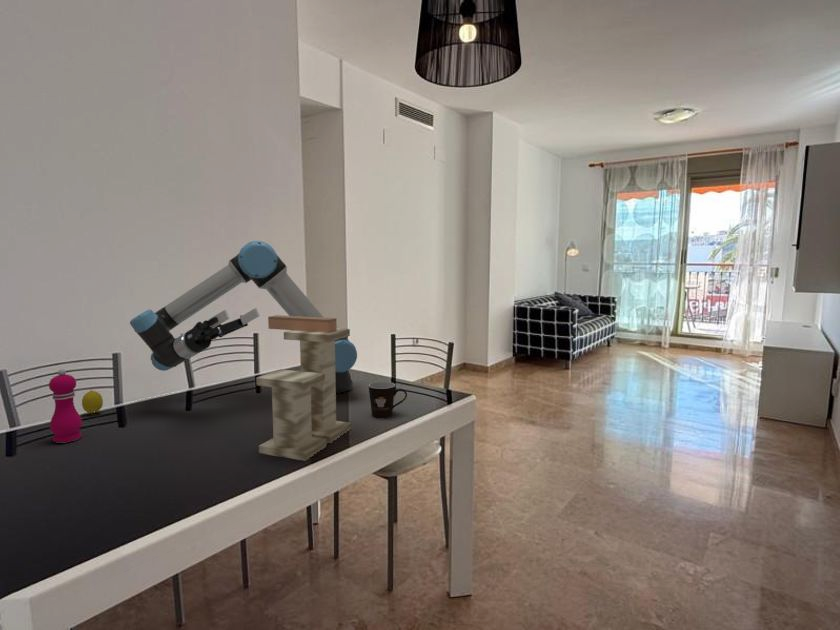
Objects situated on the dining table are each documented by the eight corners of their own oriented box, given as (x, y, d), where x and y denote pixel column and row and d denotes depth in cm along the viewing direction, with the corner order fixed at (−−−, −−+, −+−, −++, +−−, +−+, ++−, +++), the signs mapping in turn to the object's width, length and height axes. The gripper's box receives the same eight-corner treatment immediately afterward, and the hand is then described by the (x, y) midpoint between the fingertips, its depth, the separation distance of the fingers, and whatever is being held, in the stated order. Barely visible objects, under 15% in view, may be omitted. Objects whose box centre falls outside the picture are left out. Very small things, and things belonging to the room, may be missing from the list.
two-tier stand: (351, 429, 143) (349, 328, 139) (305, 460, 120) (302, 342, 117) (310, 423, 147) (307, 326, 144) (259, 453, 125) (254, 338, 121)
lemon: (81, 418, 152) (79, 393, 151) (84, 413, 157) (82, 389, 156) (102, 415, 154) (100, 391, 153) (104, 410, 159) (102, 387, 158)
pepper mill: (58, 447, 129) (51, 373, 126) (46, 441, 132) (39, 370, 130) (88, 438, 135) (82, 368, 132) (76, 433, 138) (70, 365, 136)
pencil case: (336, 330, 136) (336, 318, 136) (329, 332, 132) (329, 319, 132) (277, 326, 143) (276, 315, 142) (268, 328, 139) (268, 316, 139)
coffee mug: (363, 417, 154) (363, 386, 152) (378, 409, 161) (377, 380, 160) (394, 422, 148) (394, 391, 147) (408, 415, 156) (408, 384, 155)
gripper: (155, 334, 140) (207, 302, 133) (217, 328, 163) (264, 300, 157) (165, 358, 139) (217, 327, 132) (225, 348, 163) (273, 321, 156)
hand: (243, 313), depth 145 cm, fingers open, 13 cm apart
